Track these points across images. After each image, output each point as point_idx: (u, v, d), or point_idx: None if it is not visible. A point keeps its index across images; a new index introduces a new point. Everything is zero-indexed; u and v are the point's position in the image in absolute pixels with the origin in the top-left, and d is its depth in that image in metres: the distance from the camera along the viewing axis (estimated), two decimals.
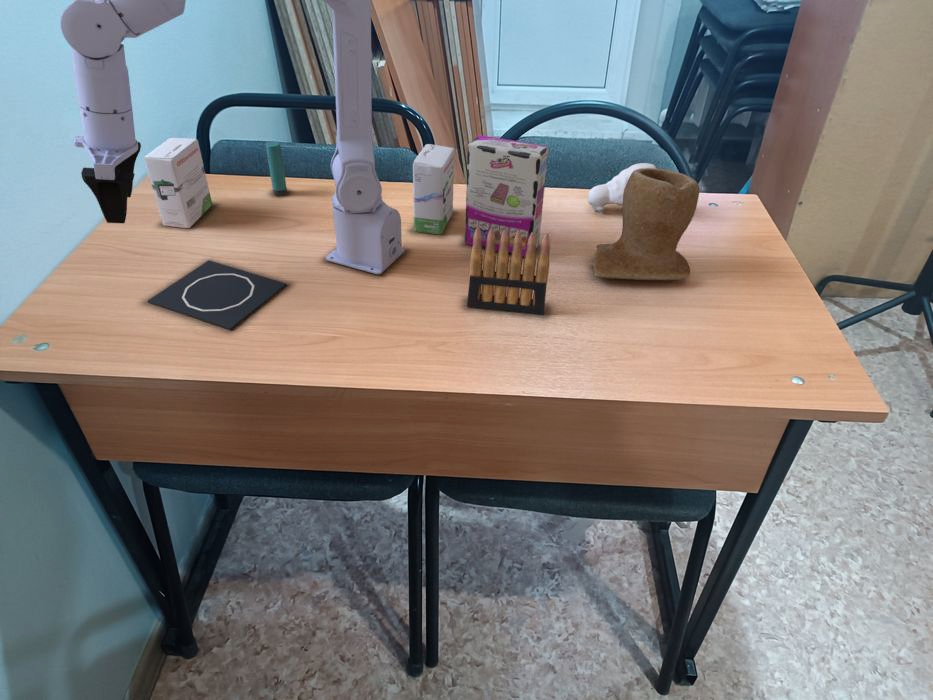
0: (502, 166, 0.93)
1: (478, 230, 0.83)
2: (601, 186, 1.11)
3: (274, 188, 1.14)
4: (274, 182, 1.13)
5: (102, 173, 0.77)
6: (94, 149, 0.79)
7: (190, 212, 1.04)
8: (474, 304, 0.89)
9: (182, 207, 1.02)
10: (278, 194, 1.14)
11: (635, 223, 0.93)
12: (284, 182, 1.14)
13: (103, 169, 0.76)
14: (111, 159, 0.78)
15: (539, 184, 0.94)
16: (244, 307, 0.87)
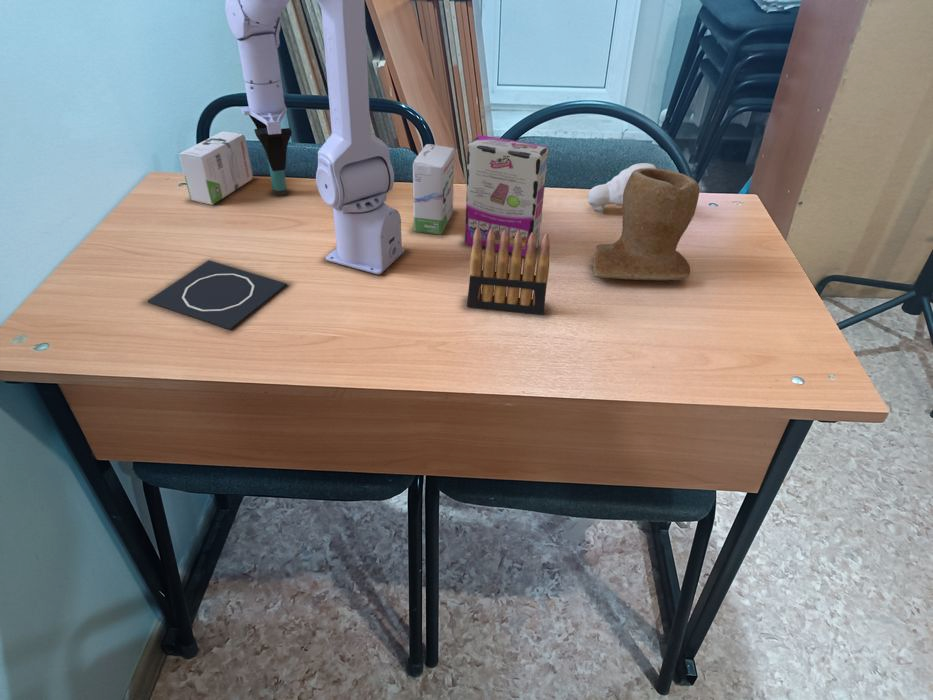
0: (502, 166, 0.93)
1: (478, 230, 0.83)
2: (601, 186, 1.11)
3: (274, 188, 1.14)
4: (274, 182, 1.13)
5: (273, 129, 1.01)
6: (260, 114, 1.04)
7: (212, 159, 1.08)
8: (474, 304, 0.89)
9: (214, 149, 1.08)
10: (278, 194, 1.14)
11: (635, 223, 0.93)
12: (284, 182, 1.14)
13: (273, 126, 1.01)
14: (275, 118, 1.03)
15: (539, 184, 0.94)
16: (244, 307, 0.87)
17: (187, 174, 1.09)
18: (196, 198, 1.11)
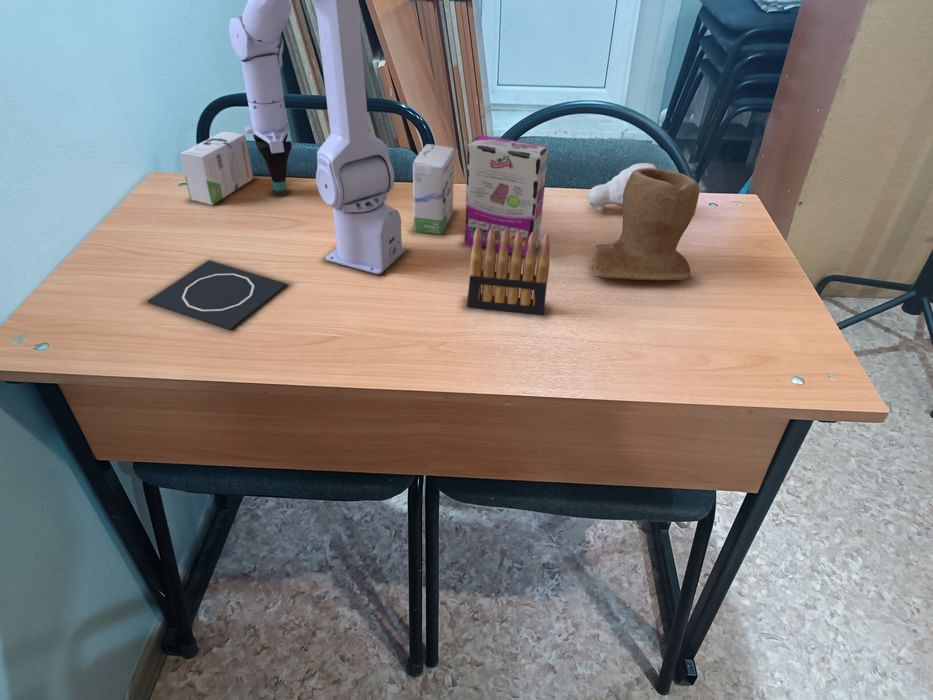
0: (502, 166, 0.93)
1: (478, 230, 0.83)
2: (601, 186, 1.11)
3: (274, 188, 1.14)
4: None
5: (276, 148, 1.03)
6: (263, 132, 1.06)
7: (213, 159, 1.08)
8: (474, 304, 0.89)
9: (215, 149, 1.08)
10: (278, 194, 1.14)
11: (635, 223, 0.93)
12: (284, 182, 1.14)
13: (276, 145, 1.03)
14: (278, 137, 1.05)
15: (539, 184, 0.94)
16: (244, 307, 0.87)
17: (187, 174, 1.09)
18: (196, 198, 1.11)
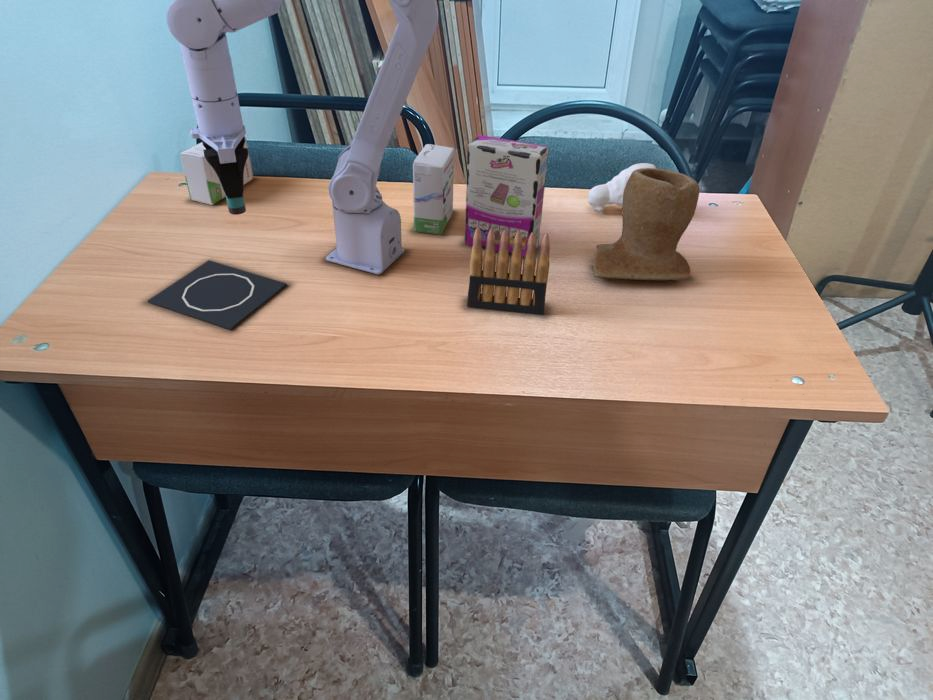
0: (502, 166, 0.93)
1: (478, 230, 0.83)
2: (601, 186, 1.11)
3: (229, 205, 0.93)
4: None
5: (225, 157, 0.83)
6: (211, 137, 0.85)
7: None
8: (474, 304, 0.89)
9: None
10: (234, 212, 0.94)
11: (635, 223, 0.93)
12: (241, 198, 0.93)
13: (226, 153, 0.82)
14: (229, 143, 0.84)
15: (539, 184, 0.94)
16: (244, 307, 0.87)
17: (187, 174, 1.09)
18: (196, 198, 1.11)
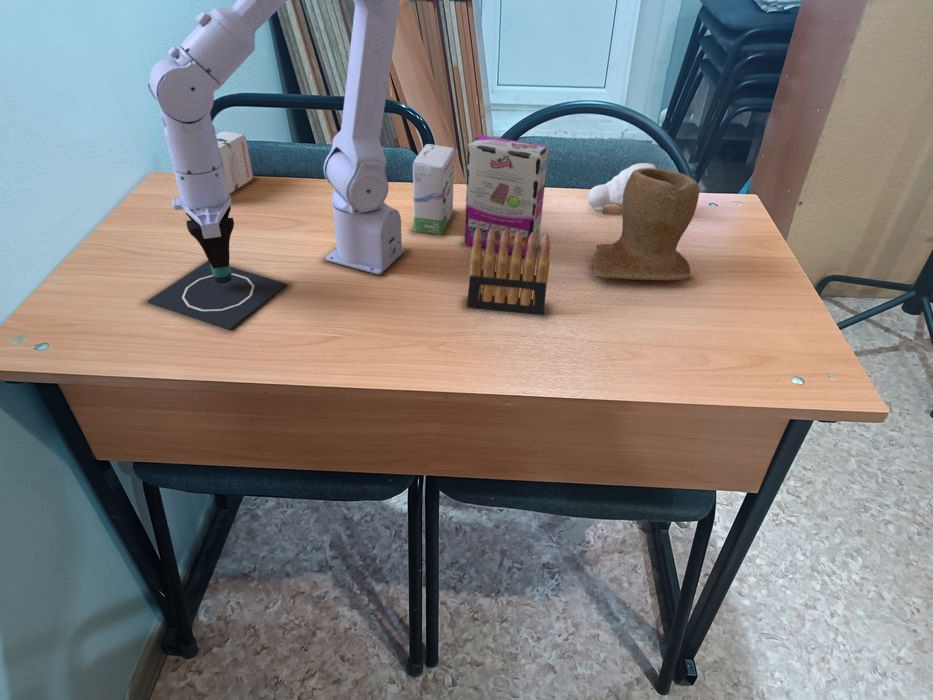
0: (502, 166, 0.93)
1: (478, 230, 0.83)
2: (601, 186, 1.11)
3: (214, 274, 0.89)
4: None
5: (209, 232, 0.78)
6: (194, 209, 0.81)
7: None
8: (474, 304, 0.89)
9: None
10: (220, 281, 0.89)
11: (635, 223, 0.93)
12: (227, 266, 0.89)
13: (210, 228, 0.78)
14: (213, 216, 0.80)
15: (539, 184, 0.94)
16: (244, 307, 0.87)
17: None
18: None
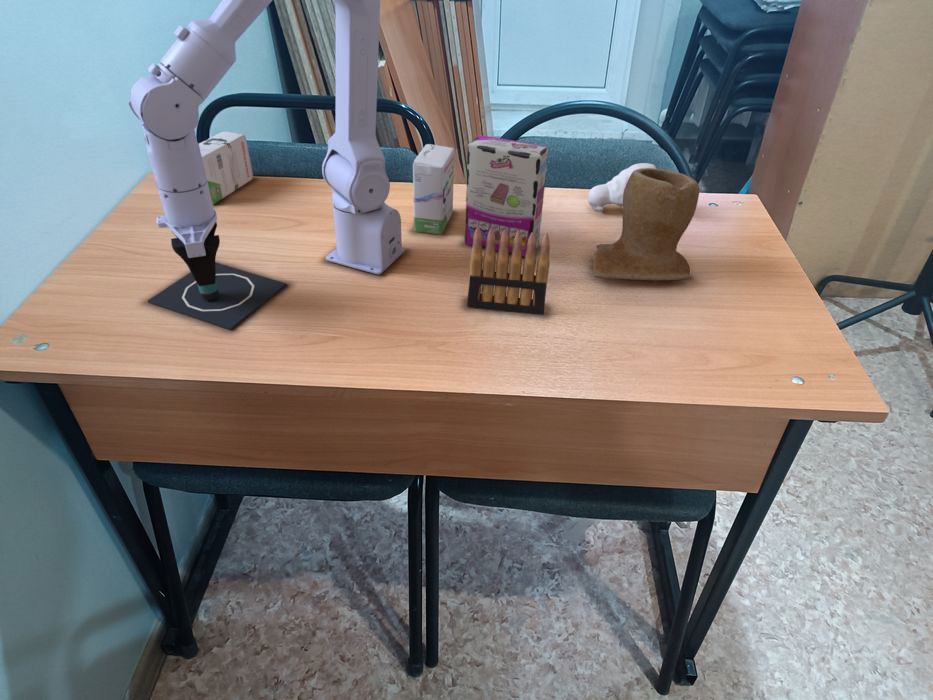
0: (502, 166, 0.93)
1: (478, 230, 0.83)
2: (601, 186, 1.11)
3: (201, 291, 0.87)
4: None
5: (194, 251, 0.77)
6: (179, 227, 0.79)
7: (213, 159, 1.08)
8: (474, 304, 0.89)
9: (215, 149, 1.08)
10: (206, 298, 0.88)
11: (635, 223, 0.93)
12: None
13: (194, 247, 0.76)
14: (198, 235, 0.78)
15: (539, 184, 0.94)
16: (244, 307, 0.87)
17: None
18: None
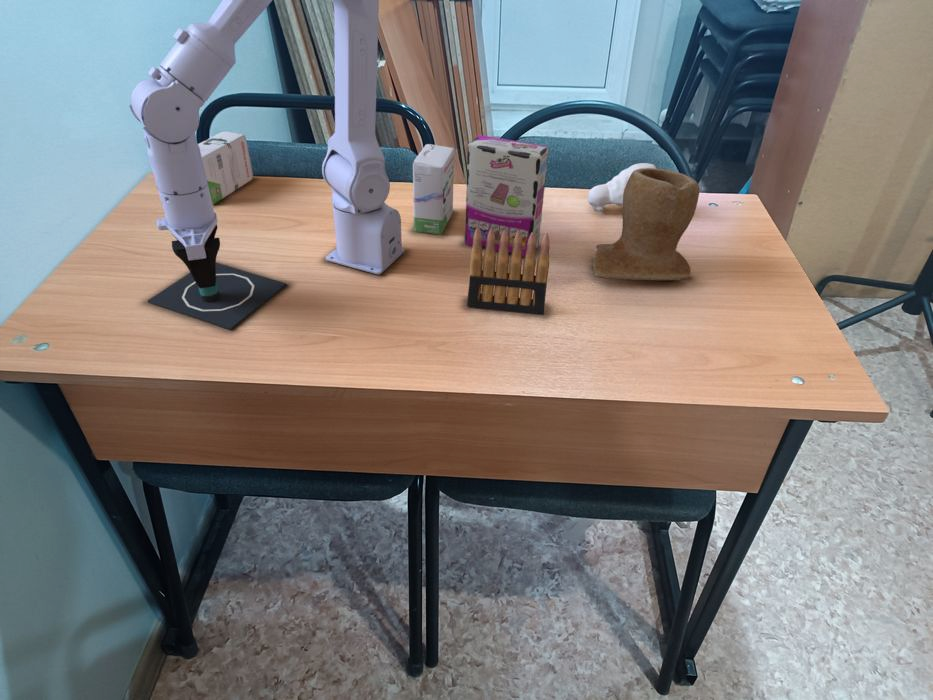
0: (502, 166, 0.93)
1: (478, 230, 0.83)
2: (601, 186, 1.11)
3: (201, 293, 0.87)
4: None
5: (194, 254, 0.77)
6: (179, 230, 0.79)
7: (213, 159, 1.08)
8: (474, 304, 0.89)
9: (215, 149, 1.08)
10: (207, 300, 0.88)
11: (635, 223, 0.93)
12: None
13: (195, 250, 0.77)
14: (198, 237, 0.78)
15: (539, 184, 0.94)
16: (244, 307, 0.87)
17: None
18: None
